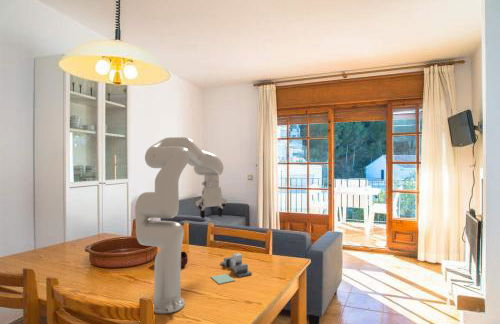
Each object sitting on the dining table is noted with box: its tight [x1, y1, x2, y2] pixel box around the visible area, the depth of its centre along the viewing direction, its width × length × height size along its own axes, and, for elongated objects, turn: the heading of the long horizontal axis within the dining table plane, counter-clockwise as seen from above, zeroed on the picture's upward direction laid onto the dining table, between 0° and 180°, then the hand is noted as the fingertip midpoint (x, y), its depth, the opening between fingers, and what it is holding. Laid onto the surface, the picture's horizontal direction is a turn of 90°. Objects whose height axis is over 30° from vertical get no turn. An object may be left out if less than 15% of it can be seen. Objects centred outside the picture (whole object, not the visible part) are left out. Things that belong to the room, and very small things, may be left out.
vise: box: [220, 256, 253, 278], centre depth 153 cm, size 21×7×4 cm, turn 29°
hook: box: [228, 252, 243, 272], centre depth 153 cm, size 8×4×8 cm, turn 30°
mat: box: [210, 273, 236, 285], centre depth 140 cm, size 9×8×1 cm
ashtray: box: [153, 251, 189, 268], centre depth 160 cm, size 18×16×5 cm
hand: (211, 217), depth 158 cm, fingers open, 9 cm apart
